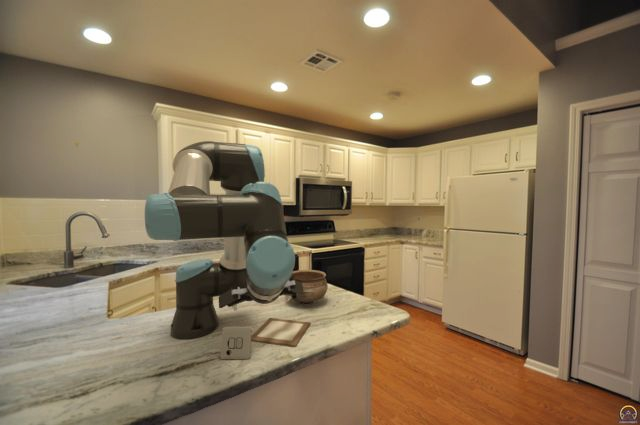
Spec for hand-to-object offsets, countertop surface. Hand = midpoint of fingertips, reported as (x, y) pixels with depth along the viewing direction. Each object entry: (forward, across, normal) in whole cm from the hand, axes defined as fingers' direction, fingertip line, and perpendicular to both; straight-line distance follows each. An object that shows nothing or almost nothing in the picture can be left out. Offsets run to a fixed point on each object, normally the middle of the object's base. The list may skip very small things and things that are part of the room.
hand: (261, 300), depth 71 cm
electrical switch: (+14, -8, -12) cm, 20 cm away
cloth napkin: (+23, +7, -7) cm, 25 cm away
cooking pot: (+45, +22, +4) cm, 50 cm away
